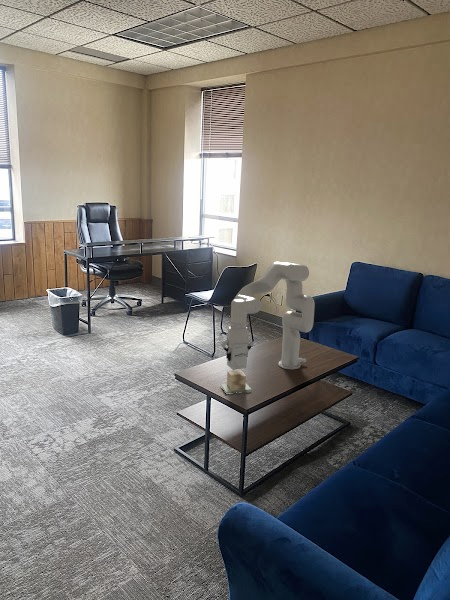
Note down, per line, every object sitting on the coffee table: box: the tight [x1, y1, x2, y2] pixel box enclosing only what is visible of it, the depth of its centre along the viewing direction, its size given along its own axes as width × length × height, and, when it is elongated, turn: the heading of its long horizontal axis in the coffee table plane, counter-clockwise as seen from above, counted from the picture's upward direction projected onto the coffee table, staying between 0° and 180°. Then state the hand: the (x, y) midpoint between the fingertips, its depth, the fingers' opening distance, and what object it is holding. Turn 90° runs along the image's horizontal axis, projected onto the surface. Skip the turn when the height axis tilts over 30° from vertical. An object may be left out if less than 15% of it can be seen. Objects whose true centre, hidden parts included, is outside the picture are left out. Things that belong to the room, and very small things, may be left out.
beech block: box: [226, 369, 247, 391], centre depth 231 cm, size 7×8×7 cm
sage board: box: [220, 383, 252, 394], centre depth 232 cm, size 13×9×2 cm
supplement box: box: [226, 343, 249, 371], centre depth 228 cm, size 7×7×13 cm
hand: (236, 359), depth 228 cm, fingers closed on supplement box, 7 cm apart
